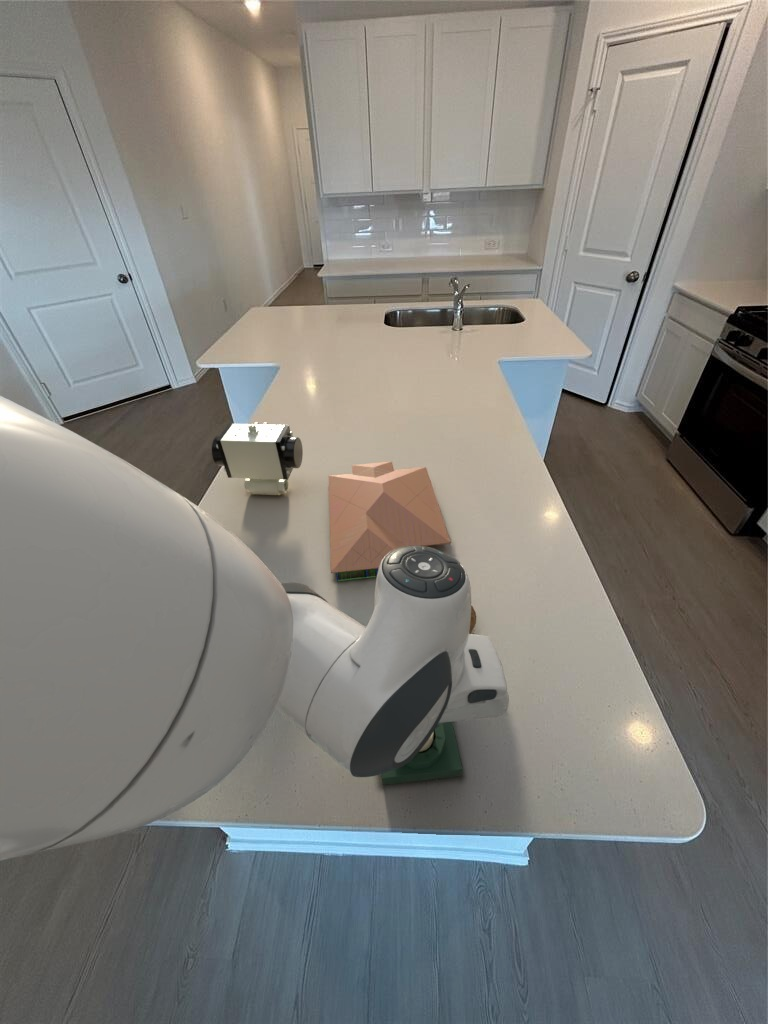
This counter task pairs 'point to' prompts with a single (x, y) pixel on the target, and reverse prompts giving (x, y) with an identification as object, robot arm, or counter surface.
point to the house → (380, 515)
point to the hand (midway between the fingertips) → (416, 729)
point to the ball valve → (258, 455)
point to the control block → (431, 760)
